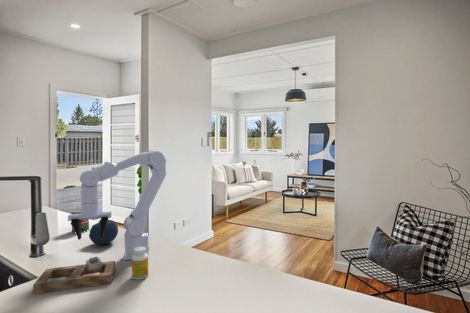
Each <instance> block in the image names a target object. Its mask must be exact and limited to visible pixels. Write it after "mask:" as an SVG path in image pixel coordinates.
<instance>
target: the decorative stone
mask: <svg viewBox="0 0 470 313" xmlns="http://www.w3.org/2000/svg"><path fill="white" fill-rule="evenodd" d="M118 234H119V226H118V224H117V222H115V220H111V219H108V221H107V223H106V226H105V230H104V236H103V237H101V226H100V221H99V222H96V223H94V224H93V225H92V226H91V228H90V229H89V234H88V237H89V239H90V241H91V242H92V243H93V244H95V245H99V246H104V245H108V244H110V243H113V241H115V239H116V238H117V236H118Z"/></svg>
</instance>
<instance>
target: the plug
mask: <svg viewBox="0 0 470 313" xmlns="http://www.w3.org/2000/svg"><path fill="white" fill-rule="evenodd" d="M85 264H86V274H90V273H98V272H100V273H102V260H101V259H100V258H99V257H98V256H94V257H89V258H88V259H87V260H85Z"/></svg>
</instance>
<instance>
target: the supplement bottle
mask: <svg viewBox="0 0 470 313" xmlns="http://www.w3.org/2000/svg"><path fill="white" fill-rule="evenodd" d="M145 252H146V248H145V247H136V248H134V255H133V256H132V259H131V277H132V279H134V280H142V279H145V278H147V277H148V275H149V254H147V253H145Z"/></svg>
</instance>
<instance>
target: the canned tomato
mask: <svg viewBox="0 0 470 313" xmlns="http://www.w3.org/2000/svg"><path fill="white" fill-rule="evenodd" d="M70 213H71V214H79V213H82V210H81V208H75V209H72V210H71V211H70ZM71 214H70V215H71ZM89 221H90V219H82V220H81V232H83V233H85V232H84V231H87V230H89V231H90V222H89ZM72 232H75V230H74V228H73V227H72V226H71V233H72ZM87 232H88V231H87Z"/></svg>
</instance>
